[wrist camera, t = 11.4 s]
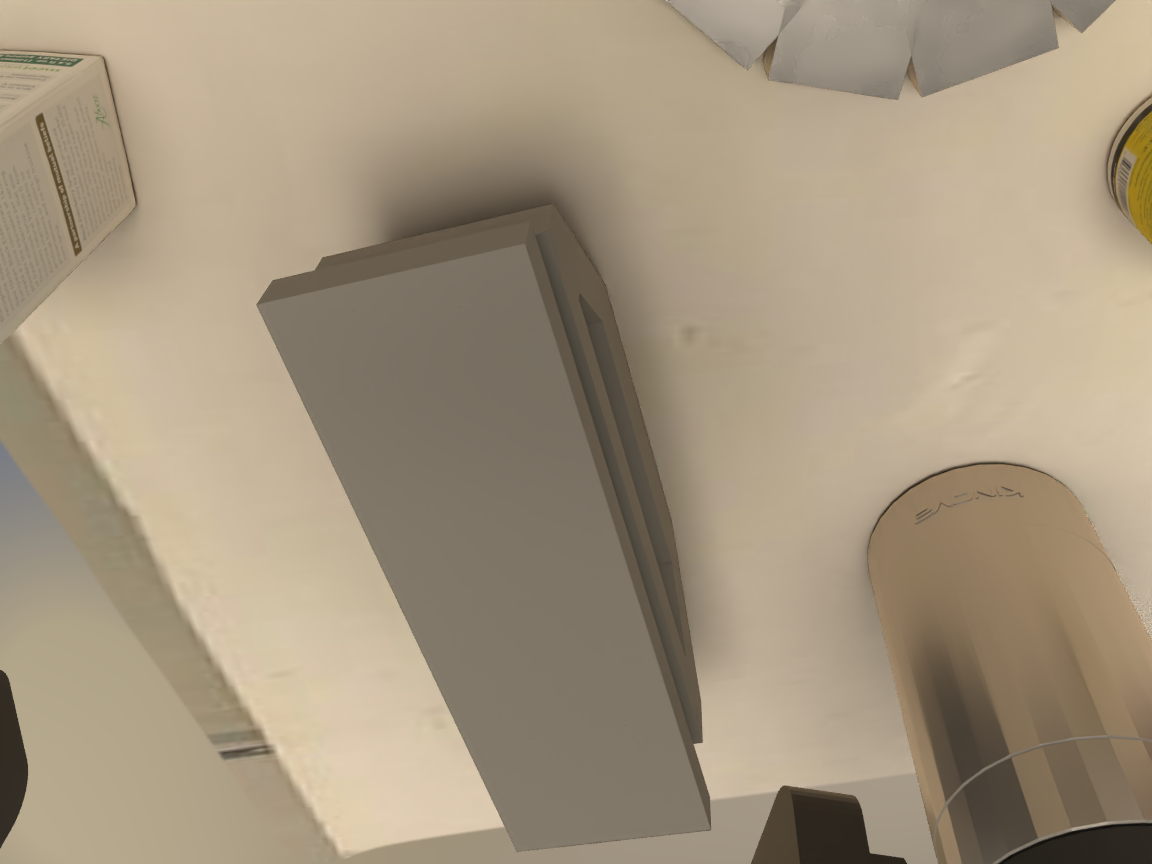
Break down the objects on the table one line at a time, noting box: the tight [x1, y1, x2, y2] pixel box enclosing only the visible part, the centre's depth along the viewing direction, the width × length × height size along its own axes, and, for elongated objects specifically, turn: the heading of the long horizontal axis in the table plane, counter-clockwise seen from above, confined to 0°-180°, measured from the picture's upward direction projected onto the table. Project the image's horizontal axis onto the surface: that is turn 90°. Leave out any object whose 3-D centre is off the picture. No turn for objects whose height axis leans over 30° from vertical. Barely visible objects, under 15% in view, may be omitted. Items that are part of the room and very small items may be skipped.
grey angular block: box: [257, 204, 711, 852], centre depth 41 cm, size 25×8×11 cm, turn 15°
